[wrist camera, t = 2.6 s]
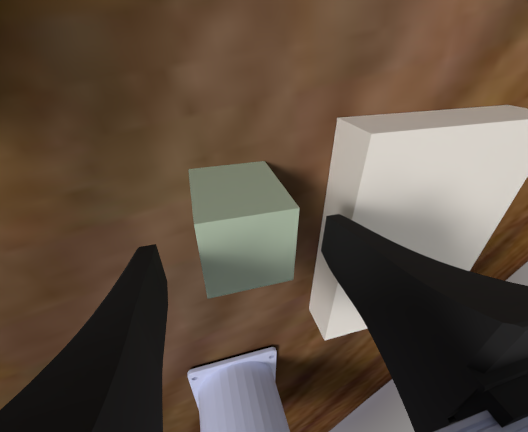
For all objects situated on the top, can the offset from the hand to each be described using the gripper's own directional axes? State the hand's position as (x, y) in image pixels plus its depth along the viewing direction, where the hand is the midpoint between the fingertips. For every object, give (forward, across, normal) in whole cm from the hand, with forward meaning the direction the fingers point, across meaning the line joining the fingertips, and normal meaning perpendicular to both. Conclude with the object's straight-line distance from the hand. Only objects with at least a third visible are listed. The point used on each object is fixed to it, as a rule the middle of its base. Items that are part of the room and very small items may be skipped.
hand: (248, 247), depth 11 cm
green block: (+4, 0, 0) cm, 5 cm away
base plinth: (+4, -12, +4) cm, 13 cm away
